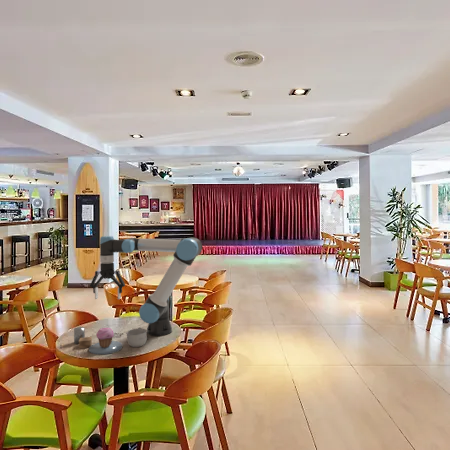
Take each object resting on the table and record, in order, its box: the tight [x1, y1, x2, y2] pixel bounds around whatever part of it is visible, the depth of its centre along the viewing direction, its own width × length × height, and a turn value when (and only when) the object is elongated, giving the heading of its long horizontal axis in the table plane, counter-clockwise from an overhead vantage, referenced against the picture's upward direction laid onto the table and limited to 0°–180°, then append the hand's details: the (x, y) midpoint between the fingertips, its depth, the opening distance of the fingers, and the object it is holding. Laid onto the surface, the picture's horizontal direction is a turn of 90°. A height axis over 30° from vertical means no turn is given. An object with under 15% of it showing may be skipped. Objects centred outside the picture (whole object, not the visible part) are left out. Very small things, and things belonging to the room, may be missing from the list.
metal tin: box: [73, 326, 86, 345], centre depth 206 cm, size 6×6×8 cm
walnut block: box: [78, 336, 93, 349], centre depth 200 cm, size 6×6×4 cm
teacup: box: [125, 327, 148, 348], centre depth 202 cm, size 14×11×8 cm
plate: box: [88, 340, 123, 356], centre depth 196 cm, size 17×17×1 cm
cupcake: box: [96, 327, 114, 348], centre depth 196 cm, size 9×9×10 cm
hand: (107, 298), depth 214 cm, fingers open, 13 cm apart
